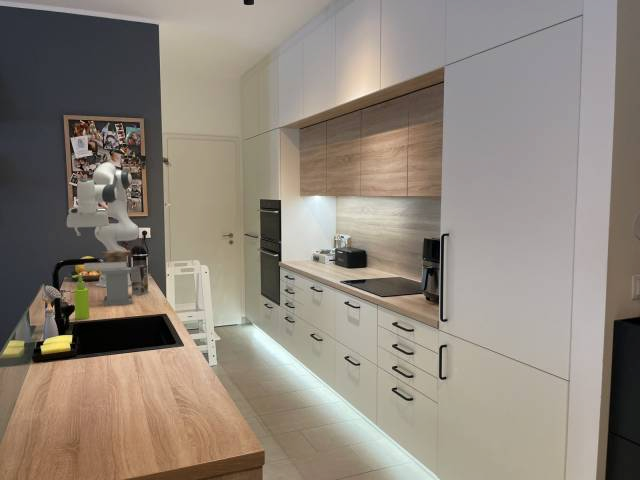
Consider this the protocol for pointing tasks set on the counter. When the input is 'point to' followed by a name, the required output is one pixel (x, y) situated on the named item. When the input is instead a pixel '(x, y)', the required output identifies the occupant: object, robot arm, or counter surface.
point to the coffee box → (139, 279)
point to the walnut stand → (117, 260)
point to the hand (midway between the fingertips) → (88, 235)
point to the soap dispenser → (81, 299)
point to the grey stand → (116, 287)
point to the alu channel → (105, 266)
